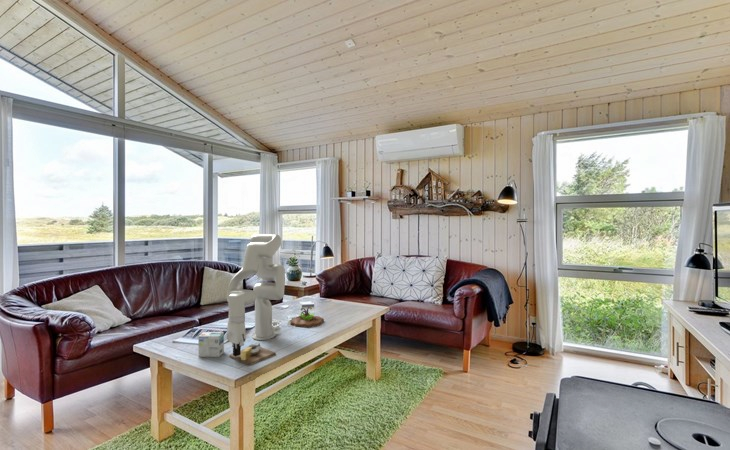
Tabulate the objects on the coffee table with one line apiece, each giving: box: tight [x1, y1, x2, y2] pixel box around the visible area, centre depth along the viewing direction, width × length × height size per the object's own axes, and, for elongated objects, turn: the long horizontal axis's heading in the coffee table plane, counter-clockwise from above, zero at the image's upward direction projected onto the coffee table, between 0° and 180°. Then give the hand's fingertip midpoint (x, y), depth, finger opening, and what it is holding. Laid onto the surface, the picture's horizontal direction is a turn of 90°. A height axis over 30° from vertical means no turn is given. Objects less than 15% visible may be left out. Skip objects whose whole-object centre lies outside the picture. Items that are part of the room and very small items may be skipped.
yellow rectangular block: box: [241, 342, 261, 360], centre depth 183 cm, size 15×6×4 cm, turn 169°
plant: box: [290, 306, 325, 329], centre depth 239 cm, size 20×20×11 cm
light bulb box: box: [197, 331, 225, 358], centre depth 185 cm, size 11×7×11 cm, turn 92°
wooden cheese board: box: [229, 343, 277, 366], centre depth 184 cm, size 16×16×5 cm
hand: (236, 355), depth 180 cm, fingers closed
